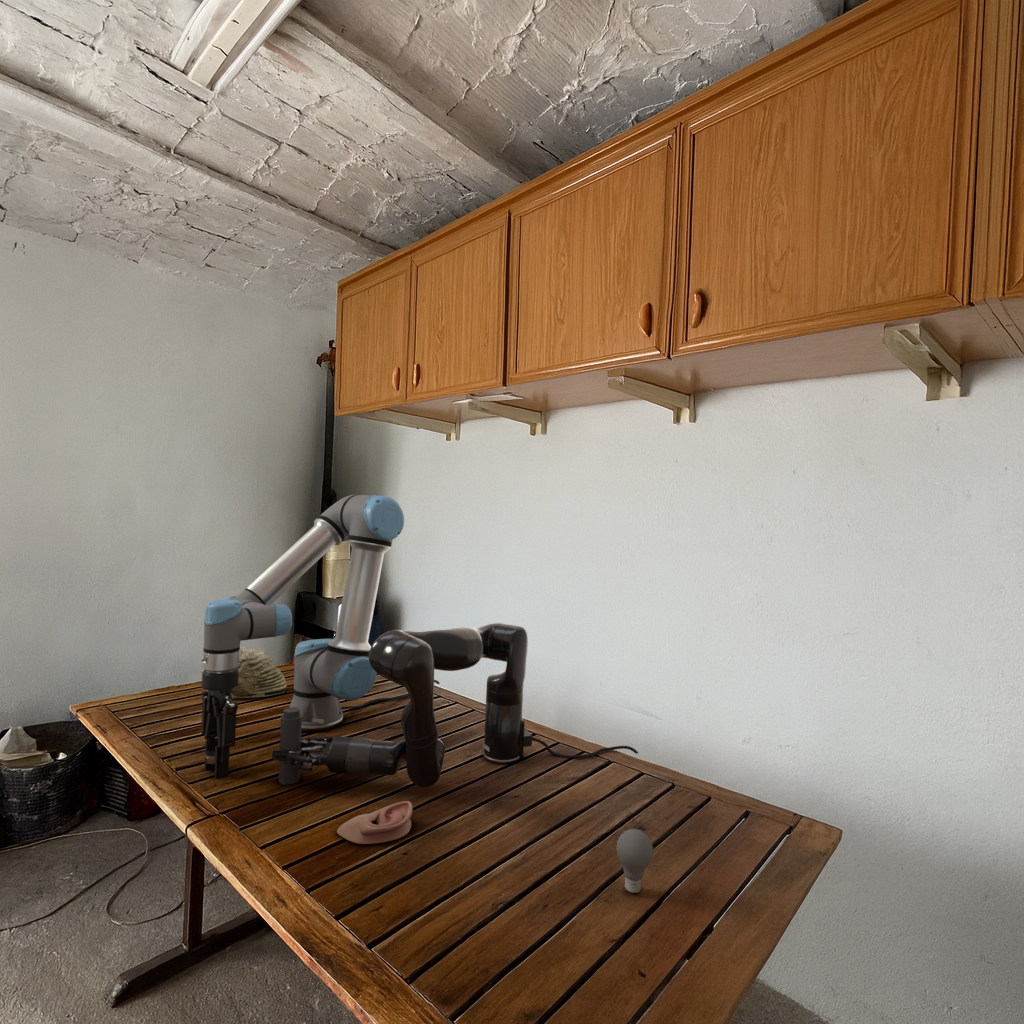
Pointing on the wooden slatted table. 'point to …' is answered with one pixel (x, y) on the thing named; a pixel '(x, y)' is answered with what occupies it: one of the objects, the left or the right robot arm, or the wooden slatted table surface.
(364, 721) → the wooden slatted table surface
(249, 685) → the fossil
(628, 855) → the light bulb
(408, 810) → the anatomical model
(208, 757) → the lid
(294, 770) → the dark grey cylinder
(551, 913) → the wooden slatted table surface
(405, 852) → the wooden slatted table surface
